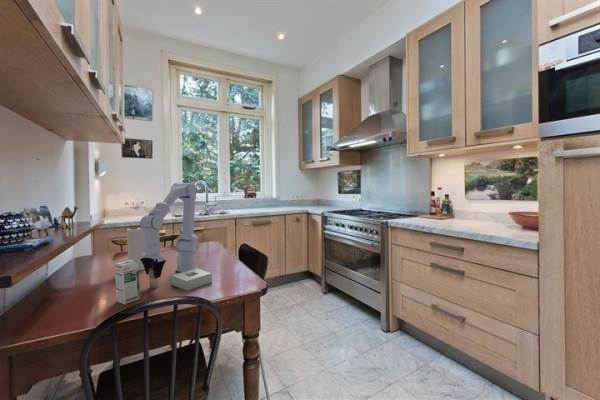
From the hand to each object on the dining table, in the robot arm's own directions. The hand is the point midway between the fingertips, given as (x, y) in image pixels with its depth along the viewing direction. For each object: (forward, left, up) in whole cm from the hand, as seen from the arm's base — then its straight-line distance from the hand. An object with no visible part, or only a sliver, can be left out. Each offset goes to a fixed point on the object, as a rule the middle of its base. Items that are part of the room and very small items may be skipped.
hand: (153, 275), depth 115 cm
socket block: (+9, +12, -5) cm, 16 cm away
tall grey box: (-32, +6, -5) cm, 33 cm away
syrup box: (+6, -12, -5) cm, 14 cm away
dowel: (0, 0, -5) cm, 5 cm away
